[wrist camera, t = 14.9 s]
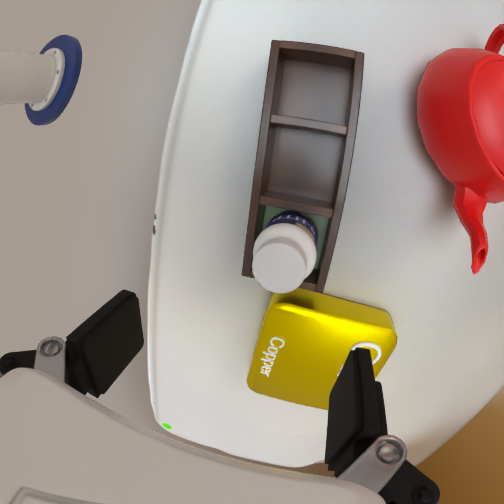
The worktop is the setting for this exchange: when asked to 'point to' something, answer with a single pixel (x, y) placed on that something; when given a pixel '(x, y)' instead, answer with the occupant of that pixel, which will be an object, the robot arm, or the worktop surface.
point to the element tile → (314, 345)
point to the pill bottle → (285, 251)
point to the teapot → (467, 130)
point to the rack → (306, 144)
